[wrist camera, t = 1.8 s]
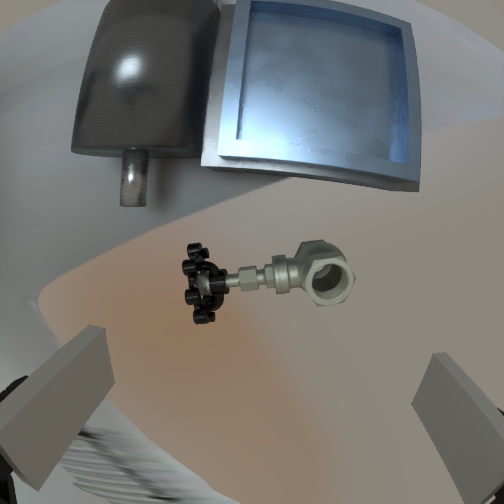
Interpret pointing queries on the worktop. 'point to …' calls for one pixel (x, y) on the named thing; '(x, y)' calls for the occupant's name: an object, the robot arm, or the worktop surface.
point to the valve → (269, 277)
